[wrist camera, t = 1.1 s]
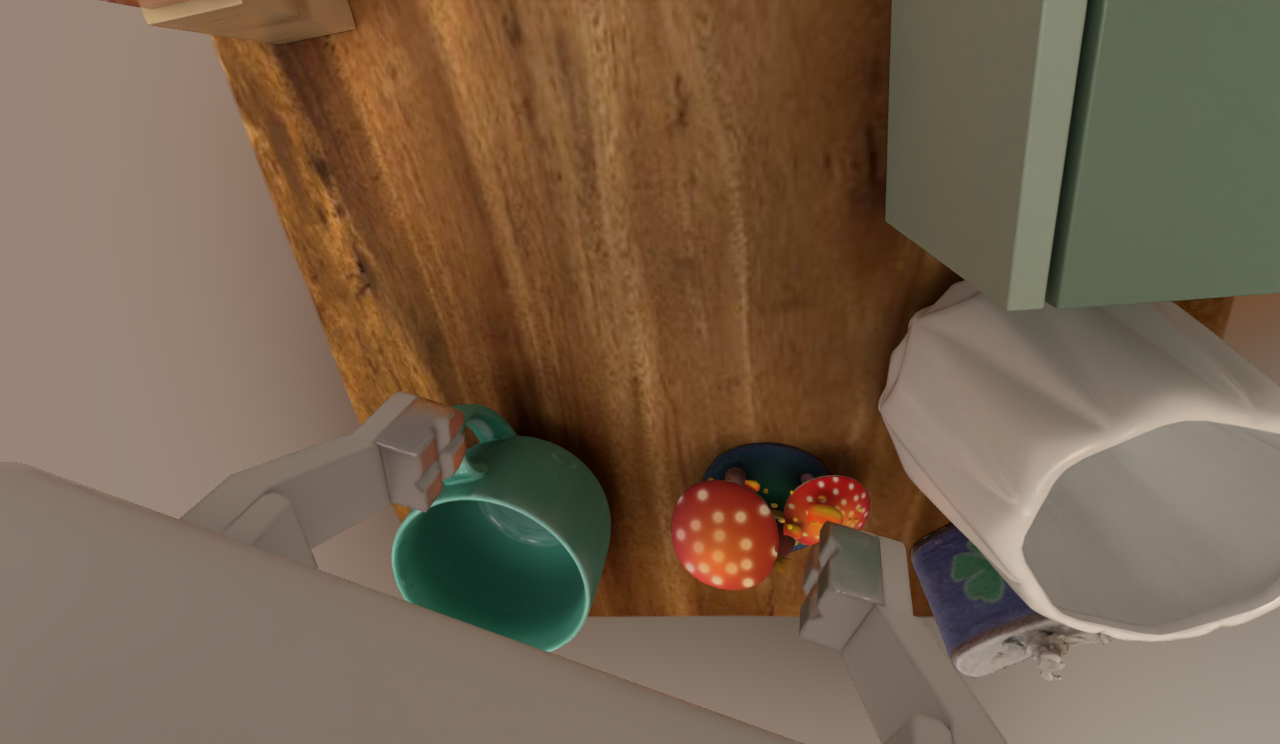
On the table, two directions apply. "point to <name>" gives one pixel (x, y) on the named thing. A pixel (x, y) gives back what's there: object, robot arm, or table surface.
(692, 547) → the figurine
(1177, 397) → the vase
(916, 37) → the door
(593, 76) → the table surface
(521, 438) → the mug
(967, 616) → the flask
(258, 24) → the stand
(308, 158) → the table surface
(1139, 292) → the cupboard
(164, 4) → the block
